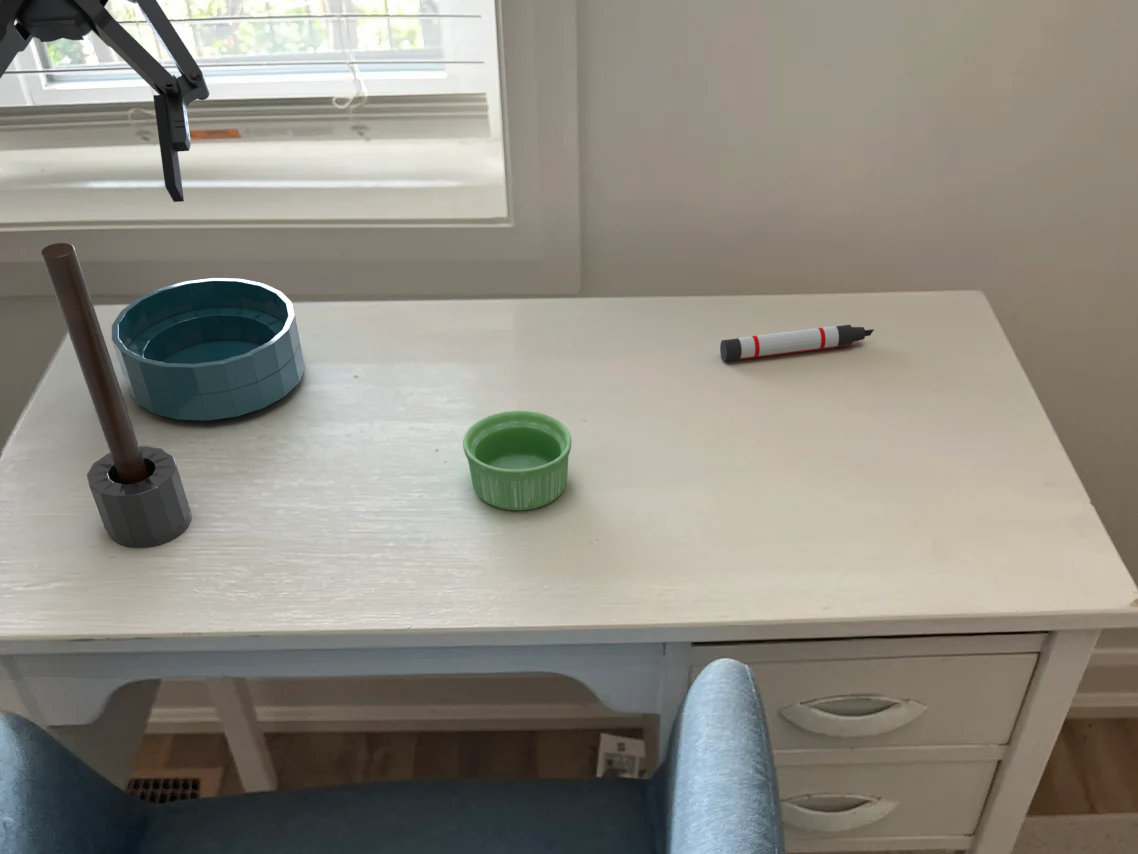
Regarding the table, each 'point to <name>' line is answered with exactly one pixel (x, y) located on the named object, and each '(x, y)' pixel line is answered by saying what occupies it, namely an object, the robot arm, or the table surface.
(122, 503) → the crock
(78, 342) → the stick
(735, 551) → the table surface
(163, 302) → the bowl
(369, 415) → the table surface
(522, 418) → the ramekin
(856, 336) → the marker
